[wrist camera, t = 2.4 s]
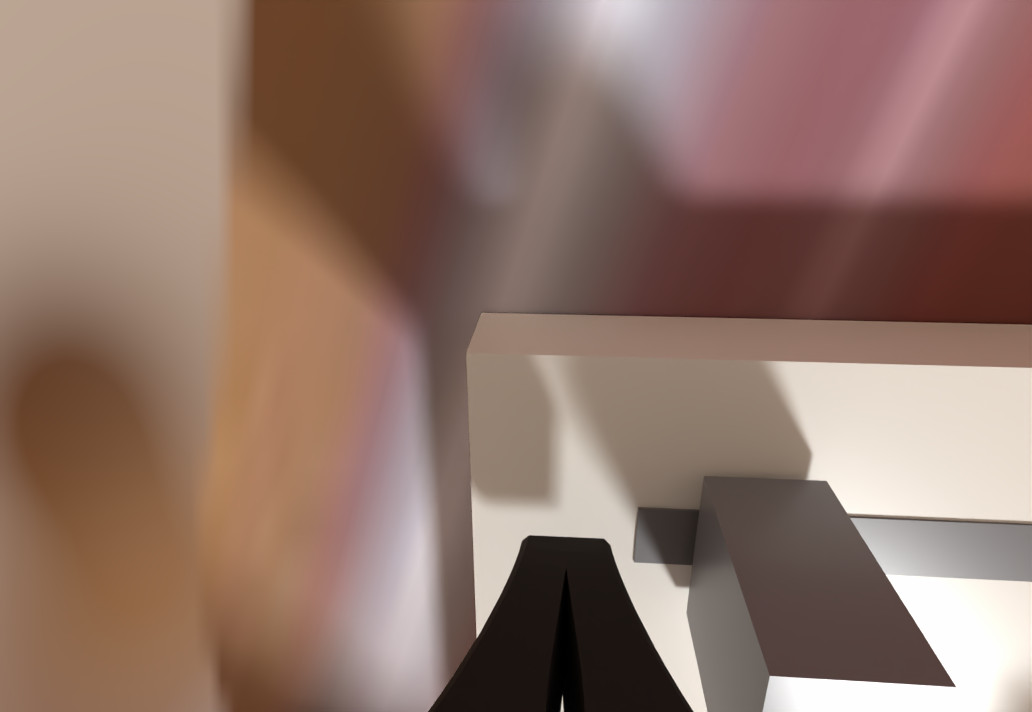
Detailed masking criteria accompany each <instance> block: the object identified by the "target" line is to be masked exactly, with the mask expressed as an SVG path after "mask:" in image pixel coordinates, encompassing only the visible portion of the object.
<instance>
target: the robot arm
mask: <svg viewBox="0 0 1032 712" xmlns="http://www.w3.org/2000/svg"><path fill="white" fill-rule="evenodd" d="M562 696H563V710H564V712H693V710H692V708H691V707H690V705H689V704H688V702H687V701H686V699H685V697H684V696H683V694H682V693H681V691H680V689H679V688H678V686H677V684H676V683H675V681H674V679H673V678H672V676H671V674H670V673H669V671H668V669H667V668H666V666H665V664H664V662H663V661H662V659H661V657H660V655H659V654H658V652H657V650H656V648H655V646H654V644H653V642H652V641H651V639H650V637H649V635H648V633H647V631H646V629H645V627H644V625H643V623H642V621H641V619H640V618H639V616H638V614H637V611H636V609H635V607H634V605H633V603H632V601H631V599H630V596H629V594H628V592H627V590H626V587H625V585H624V583H623V580H622V578H621V575H620V573H619V570H618V568H617V565H616V562H615V559H614V556H613V553H612V549H611V545H610V544H609V543H608V542H607V541H606V540H605V539H603V538H581V537H558V536H535V535H529V536H527V537H526V538H525V539H523V540H522V542H521V546H520V550H519V553H518V556H517V558H516V561H515V564H514V566H513V569H512V571H511V573H510V576H509V578H508V580H507V582H506V584H505V586H504V589H503V591H502V593H501V595H500V597H499V599H498V601H497V602H496V604H495V606H494V608H493V610H492V612H491V614H490V616H489V617H488V619H487V621H486V623H485V625H484V627H483V629H482V630H481V632H480V634H479V635H478V637H477V639H476V640H475V642H474V644H473V645H472V647H471V648H470V650H469V652H468V653H467V655H466V656H465V658H464V660H463V661H462V663H461V664H460V666H459V668H458V669H457V671H456V672H455V674H454V676H453V677H452V679H451V680H450V681H449V683H448V684H447V686H446V687H445V689H444V690H443V692H442V693H441V695H440V696H439V697H438V699H437V700H436V702H435V703H434V704H433V706H432V707H431V708H430V710H429V711H428V712H561V704H562Z"/></svg>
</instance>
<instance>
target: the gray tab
mask: <svg viewBox="0 0 1032 712" xmlns="http://www.w3.org/2000/svg"><path fill="white" fill-rule="evenodd" d="M686 614H687V618H688V623H689V628H690V632H691V637H692V642H693V647H694V651H695V656H696V661H697V665H698V670H699V675H700V679H701V684H702V689H703V693H704V698H705V703H706V707H707V712H948V710H949V707H950V704H951V701H952V698H953V696H954V693H955V690H956V686H955V684H954V682H953V681H952V679H951V678H950V676H949V674H948V673H947V671H946V670H945V668H944V667H943V665H942V663H941V662H940V660H939V659H938V657H937V655H936V654H935V652H934V651H933V649H932V647H931V646H930V644H929V643H928V641H927V640H926V638H925V636H924V635H923V633H922V632H921V630H920V628H919V627H918V625H917V624H916V622H915V620H914V619H913V617H912V616H911V614H910V612H909V611H908V609H907V608H906V606H905V605H904V603H903V601H902V600H901V598H900V597H899V595H898V593H897V592H896V590H895V589H894V587H893V585H892V584H891V582H890V581H889V579H888V578H887V576H886V574H885V573H884V571H883V570H882V568H881V566H880V565H879V563H878V562H877V560H876V558H875V557H874V555H873V554H872V552H871V550H870V549H869V547H868V546H867V544H866V543H865V541H864V539H863V538H862V536H861V535H860V533H859V531H858V530H857V528H856V527H855V525H854V523H853V522H852V520H851V519H850V517H849V516H848V514H847V512H846V511H845V509H844V508H843V506H842V504H841V503H840V501H839V500H838V498H837V496H836V495H835V493H834V492H833V490H832V489H831V487H830V485H829V484H828V482H827V481H820V480H794V479H769V478H743V477H717V476H704V478H703V486H702V494H701V501H700V509H699V517H698V525H697V533H696V541H695V548H694V556H693V564H692V572H691V580H690V588H689V595H688V603H687V611H686Z"/></svg>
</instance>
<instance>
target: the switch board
mask: <svg viewBox="0 0 1032 712" xmlns="http://www.w3.org/2000/svg"><path fill="white" fill-rule="evenodd" d="M466 365H467V392H468V419H469V446H470V472H471V499H472V526H473V553H474V580H475V607H476V634H477V637H478V635H479V634H480V632H481V630H482V629H483V627H484V625H485V623H486V621H487V619H488V617H489V616H490V614H491V612H492V610H493V608H494V606H495V604H496V602H497V601H498V599H499V597H500V595H501V593H502V591H503V589H504V586H505V584H506V582H507V580H508V578H509V576H510V573H511V571H512V569H513V566H514V564H515V561H516V558H517V556H518V553H519V550H520V546H521V542H522V540H523V539H525V538H526V537H527V536H529V535H535V536H558V537H581V538H603V539H605V540H606V541H607V542H608V543H609V544H610V545H611V549H612V553H613V556H614V559H615V562H616V565H617V568H618V570H619V573H620V575H621V578H622V580H623V583H624V585H625V587H626V590H627V592H628V594H629V596H630V599H631V601H632V603H633V605H634V607H635V609H636V611H637V614H638V616H639V618H640V619H641V621H642V623H643V625H644V627H645V629H646V631H647V633H648V635H649V637H650V639H651V641H652V642H653V644H654V646H655V648H656V650H657V652H658V654H659V655H660V657H661V659H662V661H663V662H664V664H665V666H666V668H667V669H668V671H669V673H670V674H671V676H672V678H673V679H674V681H675V683H676V684H677V686H678V688H679V689H680V691H681V693H682V694H683V696H684V697H685V699H686V701H687V702H688V704H689V705H690V707H691V708H692V710H693V712H707V707H706V703H705V698H704V693H703V689H702V684H701V679H700V675H699V670H698V665H697V661H696V656H695V651H694V647H693V642H692V637H691V632H690V628H689V623H688V618H687V614H686V611H687V603H688V595H689V588H690V580H691V572H692V564H693V556H694V548H695V541H696V533H697V525H698V517H699V509H700V501H701V494H702V486H703V478H704V476H717V477H743V478H769V479H794V480H820V481H827V482H828V484H829V485H830V487H831V489H832V490H833V492H834V493H835V495H836V496H837V498H838V500H839V501H840V503H841V504H842V506H843V508H844V509H845V511H846V512H847V514H848V516H849V517H850V519H851V520H852V522H853V523H854V525H855V527H856V528H857V530H858V531H859V533H860V535H861V536H862V538H863V539H864V541H865V543H866V544H867V546H868V547H869V549H870V550H871V552H872V554H873V555H874V557H875V558H876V560H877V562H878V563H879V565H880V566H881V568H882V570H883V571H884V573H885V574H886V576H887V578H888V579H889V581H890V582H891V584H892V585H893V587H894V589H895V590H896V592H897V593H898V595H899V597H900V598H901V600H902V601H903V603H904V605H905V606H906V608H907V609H908V611H909V612H910V614H911V616H912V617H913V619H914V620H915V622H916V624H917V625H918V627H919V628H920V630H921V632H922V633H923V635H924V636H925V638H926V640H927V641H928V643H929V644H930V646H931V647H932V649H933V651H934V652H935V654H936V655H937V657H938V659H939V660H940V662H941V663H942V665H943V667H944V668H945V670H946V671H947V673H948V674H949V676H950V678H951V679H952V681H953V682H954V684H955V686H956V690H955V693H954V696H953V698H952V701H951V704H950V707H949V710H948V712H1032V325H1023V324H977V323H931V322H885V321H839V320H793V319H747V318H701V317H655V316H609V315H563V314H517V313H481V315H480V318H479V320H478V323H477V325H476V328H475V331H474V333H473V336H472V339H471V341H470V344H469V347H468V349H467V352H466ZM561 712H564V710H563V696H562V704H561Z"/></svg>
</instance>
